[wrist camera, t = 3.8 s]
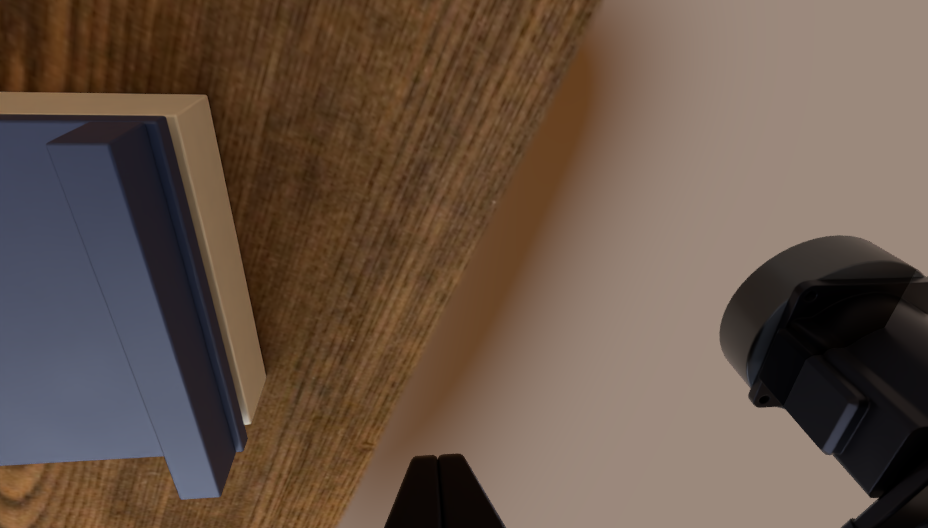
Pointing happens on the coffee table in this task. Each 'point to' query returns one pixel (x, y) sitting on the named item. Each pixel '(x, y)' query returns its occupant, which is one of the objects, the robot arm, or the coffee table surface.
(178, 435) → the cover
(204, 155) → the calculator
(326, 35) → the coffee table surface
